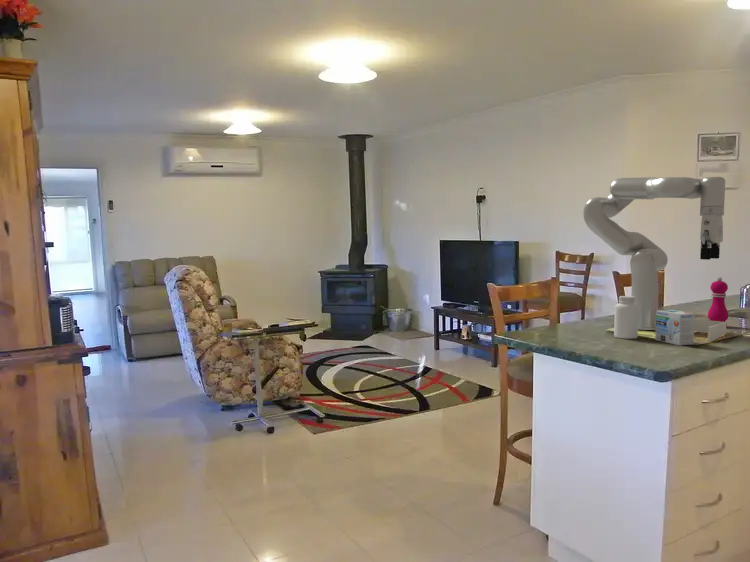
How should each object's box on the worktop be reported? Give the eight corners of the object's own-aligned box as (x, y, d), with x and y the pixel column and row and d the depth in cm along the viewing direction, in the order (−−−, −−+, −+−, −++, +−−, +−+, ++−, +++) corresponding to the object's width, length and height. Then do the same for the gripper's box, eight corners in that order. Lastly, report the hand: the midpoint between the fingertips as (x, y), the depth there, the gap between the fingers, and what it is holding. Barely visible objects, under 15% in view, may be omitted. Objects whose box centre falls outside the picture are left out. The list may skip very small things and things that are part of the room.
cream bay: (709, 341, 201) (710, 327, 201) (660, 335, 213) (660, 322, 213) (725, 335, 212) (726, 322, 212) (678, 330, 225) (678, 317, 224)
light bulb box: (654, 340, 205) (655, 310, 204) (668, 339, 207) (669, 309, 206) (679, 345, 195) (681, 314, 194) (694, 344, 197) (695, 313, 196)
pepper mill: (703, 325, 234) (705, 276, 232) (714, 324, 237) (716, 276, 235) (720, 328, 227) (722, 278, 226) (732, 327, 230) (734, 277, 229)
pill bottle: (635, 335, 213) (636, 295, 212) (639, 339, 206) (640, 298, 204) (612, 335, 216) (613, 295, 214) (615, 338, 208) (616, 297, 207)
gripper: (715, 210, 200) (713, 260, 201) (730, 211, 212) (728, 258, 213) (692, 211, 205) (690, 259, 207) (708, 212, 217) (706, 257, 219)
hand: (709, 258), depth 210 cm, fingers open, 9 cm apart
